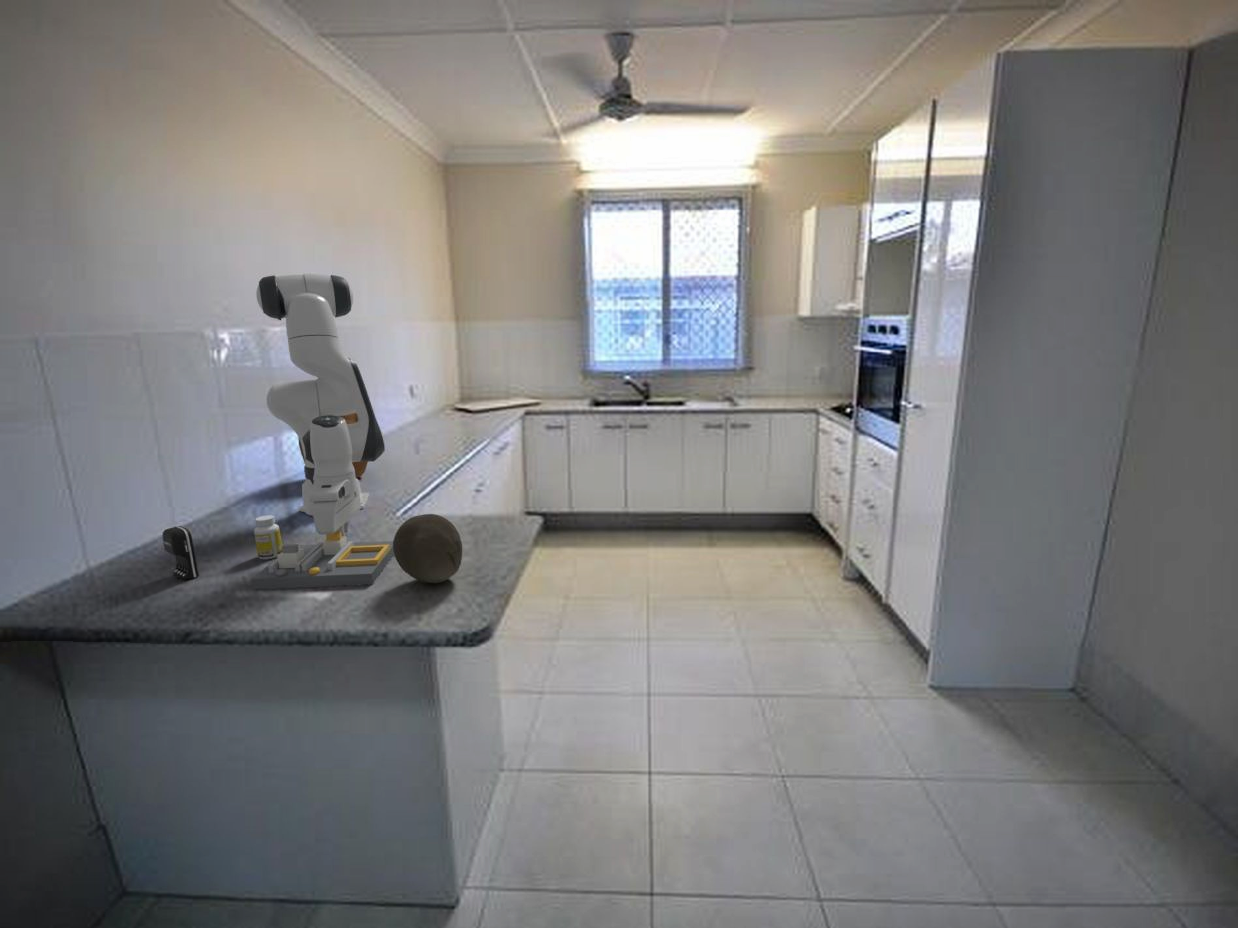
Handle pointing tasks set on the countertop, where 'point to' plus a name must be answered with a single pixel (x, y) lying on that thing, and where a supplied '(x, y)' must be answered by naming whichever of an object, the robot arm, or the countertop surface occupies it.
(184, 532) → the black electronic device
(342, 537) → the breaker
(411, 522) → the dark brown ball
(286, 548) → the breaker
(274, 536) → the supplement bottle
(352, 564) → the breaker panel
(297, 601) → the countertop surface
